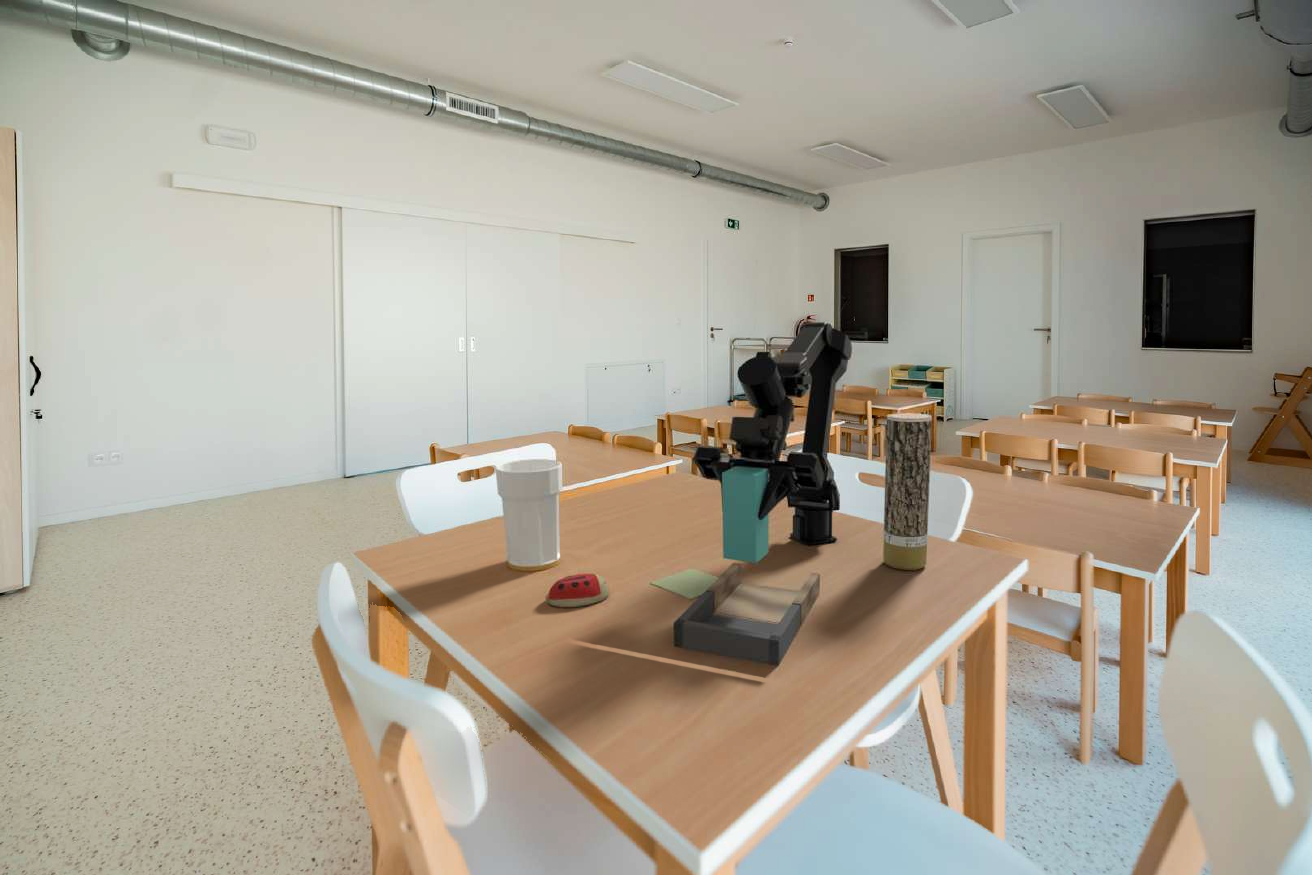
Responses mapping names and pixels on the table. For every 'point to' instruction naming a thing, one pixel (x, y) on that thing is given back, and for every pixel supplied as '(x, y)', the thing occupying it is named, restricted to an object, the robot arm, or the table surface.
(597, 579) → the ladybug figurine
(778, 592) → the open channel
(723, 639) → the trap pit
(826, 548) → the table surface
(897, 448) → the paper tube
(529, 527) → the cup
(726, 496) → the teal block
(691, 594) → the pad
